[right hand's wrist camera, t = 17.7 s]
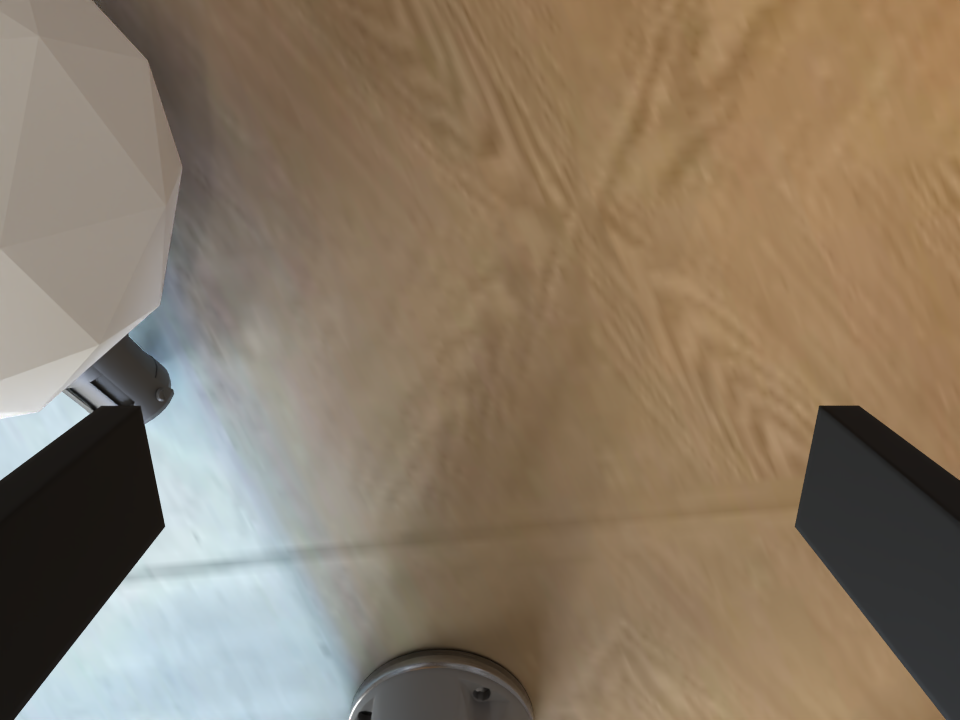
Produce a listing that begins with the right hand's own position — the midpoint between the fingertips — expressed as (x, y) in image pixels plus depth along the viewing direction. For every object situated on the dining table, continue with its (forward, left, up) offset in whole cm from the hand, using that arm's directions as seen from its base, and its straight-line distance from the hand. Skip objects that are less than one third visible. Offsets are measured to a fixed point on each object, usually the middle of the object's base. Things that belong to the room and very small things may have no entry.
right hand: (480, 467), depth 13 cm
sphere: (-24, +9, -29) cm, 38 cm away
